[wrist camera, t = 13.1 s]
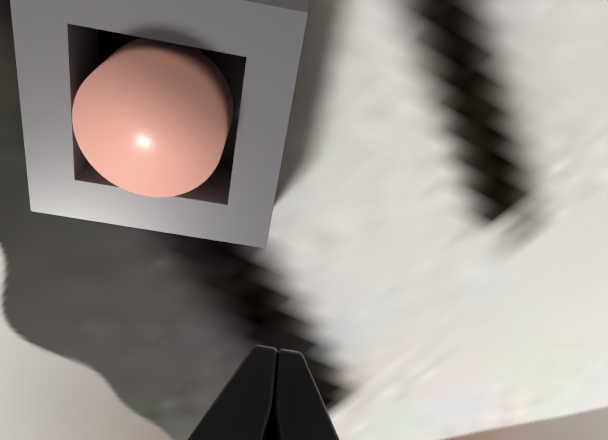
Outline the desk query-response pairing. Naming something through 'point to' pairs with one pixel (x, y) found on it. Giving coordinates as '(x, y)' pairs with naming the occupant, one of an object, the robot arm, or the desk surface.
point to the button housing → (174, 29)
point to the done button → (154, 117)
